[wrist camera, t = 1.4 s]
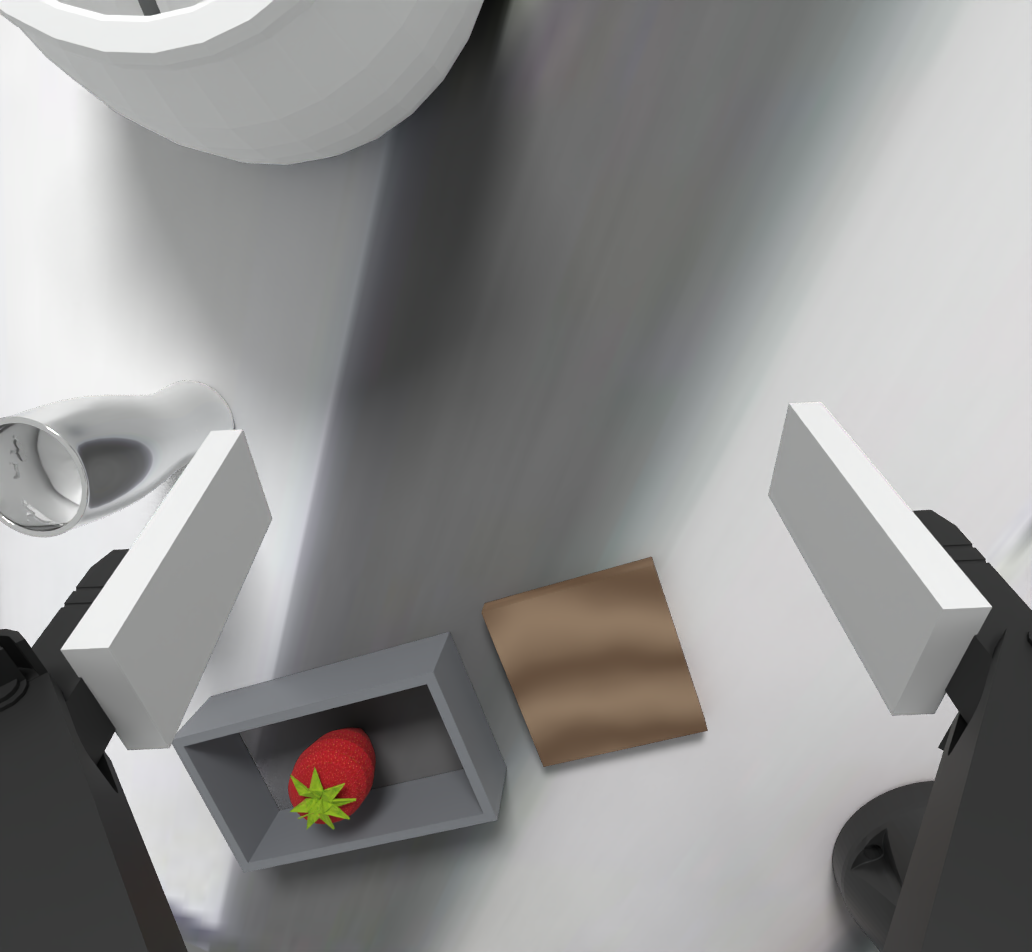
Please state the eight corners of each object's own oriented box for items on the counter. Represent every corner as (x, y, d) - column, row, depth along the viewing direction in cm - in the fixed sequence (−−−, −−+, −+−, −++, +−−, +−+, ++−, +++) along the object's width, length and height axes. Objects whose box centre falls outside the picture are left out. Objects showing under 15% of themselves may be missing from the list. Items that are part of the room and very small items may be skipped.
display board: (704, 718, 50) (707, 730, 49) (545, 753, 53) (543, 766, 51) (651, 556, 47) (653, 565, 46) (484, 603, 50) (481, 612, 48)
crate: (506, 767, 54) (497, 820, 48) (275, 819, 58) (243, 872, 53) (449, 631, 51) (433, 671, 45) (210, 696, 55) (170, 740, 50)
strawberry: (305, 741, 55) (245, 837, 46) (349, 681, 53) (296, 768, 43) (363, 779, 56) (315, 882, 46) (409, 721, 53) (370, 816, 44)
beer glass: (169, 474, 50) (-2, 550, 35) (137, 384, 48) (-57, 426, 34) (253, 458, 48) (110, 530, 34) (222, 365, 47) (59, 400, 32)
